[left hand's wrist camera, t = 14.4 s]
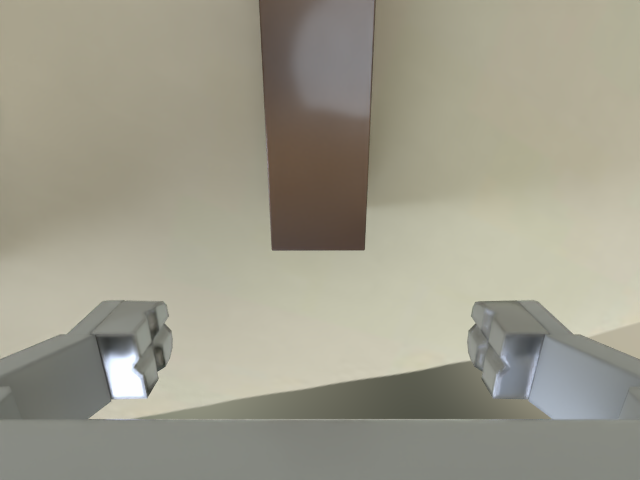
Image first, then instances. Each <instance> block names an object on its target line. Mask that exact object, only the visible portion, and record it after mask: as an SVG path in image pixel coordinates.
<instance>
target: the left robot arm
mask: <svg viewBox="0 0 640 480" xmlns="http://www.w3.org/2000/svg"><path fill="white" fill-rule="evenodd" d="M168 317H169V314H168V309H167V305H166V304H165V303H164V302H163V301H124V300H109V301H102V302H101V303H100V304H99V305H98V306H97V307H96V308H95V309H94V310H92V311H91V312H90V313H89V314H88V315H87V316H86V317H85V318H84V319H83V320H82V321H81V322H79V323H78V324H77V325H76V326H75V327H74V328H73V329H72V330H71V331H70V332H69V333H67V334H66V335H58V336H55V337H53V338H50V339H48V340H46V341H43V342H41V343H38V344H36V345H34V346H31V347H29V348H26V349H24V350H22V351H19V352H17V353H14V354H12V355H9V356H7V357H5V358H2V359H0V480H640V359H638V358H635V357H633V356H630V355H628V354H626V353H623V352H621V351H618V350H616V349H614V348H611V347H609V346H606V345H604V344H601V343H599V342H597V341H594V340H592V339H589V338H587V337H585V336H582V335H574V334H573V333H571V332H570V331H569V330H568V329H567V328H566V327H565V326H564V325H563V324H562V323H561V322H560V321H558V320H557V319H556V318H555V317H554V316H553V315H552V314H551V313H550V312H549V311H548V310H547V309H545V308H544V307H543V306H542V305H541V304H540V303H539V302H538V301H534V300H521V301H479V302H475V304H474V306H473V308H472V314H471V317H472V318H473V320H474V321H475V323H476V324H475V325H474V326H473V327H472V328H471V329H470V330H469V332H468V340H467V344H468V353H469V356H470V359H471V361H472V363H473V365H474V366H475V367H476V368H478V369H479V370H481V371H482V372H483V373H482V380H483V382H484V384H485V386H486V387H487V389H488V391H489V392H490V394H491V396H492V397H493V398H499V399H529V402H531V403H532V404H533V405H535V406H536V407H537V408H539V409H540V410H541V411H543V412H544V413H545V414H547V415H548V416H549V417H550V418H552V419H88V418H90V417H91V416H92V415H94V414H95V413H96V412H98V411H99V410H100V409H102V408H103V407H104V406H105V405H107V404H108V403H109V402H111V399H141V398H148V396H149V394H150V393H151V391H152V389H153V387H154V386H155V384H156V382H157V381H158V373H157V372H158V371H159V370H161V369H162V368H164V367H166V365H167V363H168V361H169V359H170V356H171V352H172V342H173V338H172V332H171V330H170V329H169V328H168V327H167V326H166V325H165V324H164V323H165V321H166V320H167V318H168Z"/></svg>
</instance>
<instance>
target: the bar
mask: <svg viewBox="0 0 640 480" xmlns="http://www.w3.org/2000/svg"><path fill="white" fill-rule="evenodd" d="M375 2H376V0H259V9H260V28H261V48H262V68H263V87H264V107H265V126H266V146H267V166H268V185H269V205H270V224H271V244H272V250H365V232H366V209H367V186H368V163H369V140H370V117H371V94H372V71H373V48H374V25H375Z"/></svg>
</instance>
